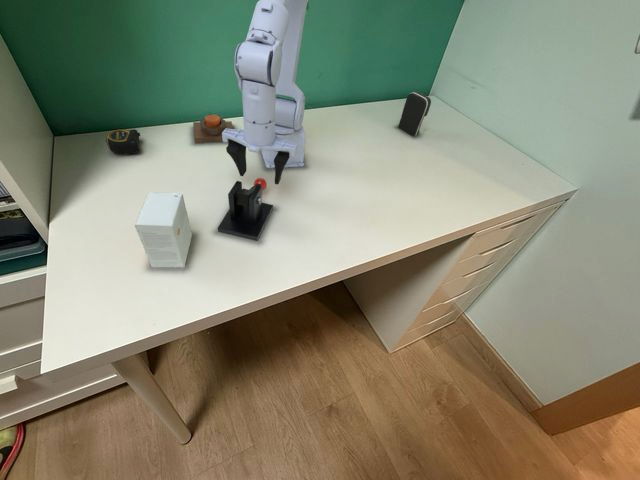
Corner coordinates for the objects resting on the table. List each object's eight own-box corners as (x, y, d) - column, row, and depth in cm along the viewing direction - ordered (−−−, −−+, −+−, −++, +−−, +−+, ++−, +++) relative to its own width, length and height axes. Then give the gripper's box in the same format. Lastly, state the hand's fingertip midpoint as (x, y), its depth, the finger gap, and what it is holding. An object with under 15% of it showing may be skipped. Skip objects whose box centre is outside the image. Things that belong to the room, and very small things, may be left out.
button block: (232, 127, 91) (231, 115, 89) (235, 142, 86) (234, 129, 84) (194, 128, 89) (192, 115, 86) (195, 143, 83) (193, 131, 81)
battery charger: (421, 134, 102) (435, 98, 94) (414, 137, 100) (427, 100, 92) (404, 124, 105) (415, 88, 97) (396, 127, 103) (408, 91, 95)
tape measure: (141, 156, 77) (137, 142, 74) (108, 158, 75) (102, 144, 72) (142, 141, 81) (138, 127, 79) (111, 142, 79) (106, 128, 77)
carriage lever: (255, 187, 73) (256, 175, 71) (267, 189, 72) (269, 177, 71) (235, 205, 62) (236, 191, 61) (249, 208, 62) (250, 194, 61)
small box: (162, 234, 62) (147, 190, 54) (193, 235, 62) (183, 192, 55) (150, 268, 56) (132, 224, 48) (184, 268, 57) (172, 225, 49)
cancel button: (219, 120, 87) (219, 114, 86) (220, 127, 84) (220, 121, 83) (205, 121, 86) (204, 114, 85) (206, 127, 83) (205, 121, 82)
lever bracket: (237, 200, 71) (234, 170, 65) (273, 209, 70) (273, 179, 64) (218, 232, 64) (213, 201, 58) (257, 241, 63) (256, 211, 58)
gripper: (212, 118, 57) (220, 180, 67) (292, 135, 56) (288, 196, 66) (228, 101, 62) (233, 162, 72) (301, 117, 61) (297, 176, 71)
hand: (260, 177), depth 69 cm, fingers open, 7 cm apart
